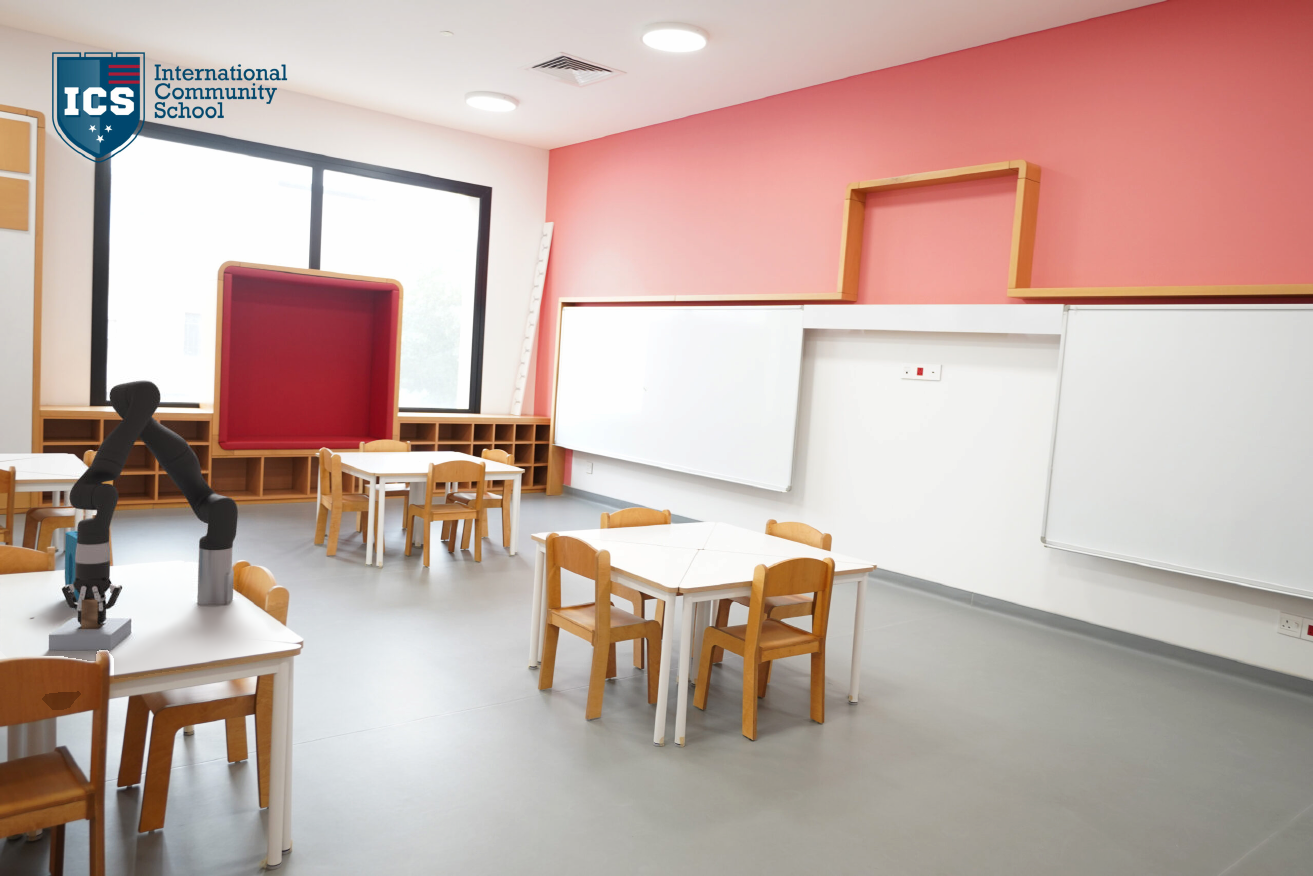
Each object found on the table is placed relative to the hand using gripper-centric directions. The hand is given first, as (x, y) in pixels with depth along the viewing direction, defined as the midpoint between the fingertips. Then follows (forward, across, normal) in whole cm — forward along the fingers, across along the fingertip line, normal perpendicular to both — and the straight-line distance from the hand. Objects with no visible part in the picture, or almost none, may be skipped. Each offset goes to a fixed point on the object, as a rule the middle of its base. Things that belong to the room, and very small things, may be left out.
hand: (91, 623), depth 226 cm
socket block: (+5, 0, 0) cm, 5 cm away
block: (+5, +17, -37) cm, 41 cm away
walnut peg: (+3, 0, 0) cm, 3 cm away
